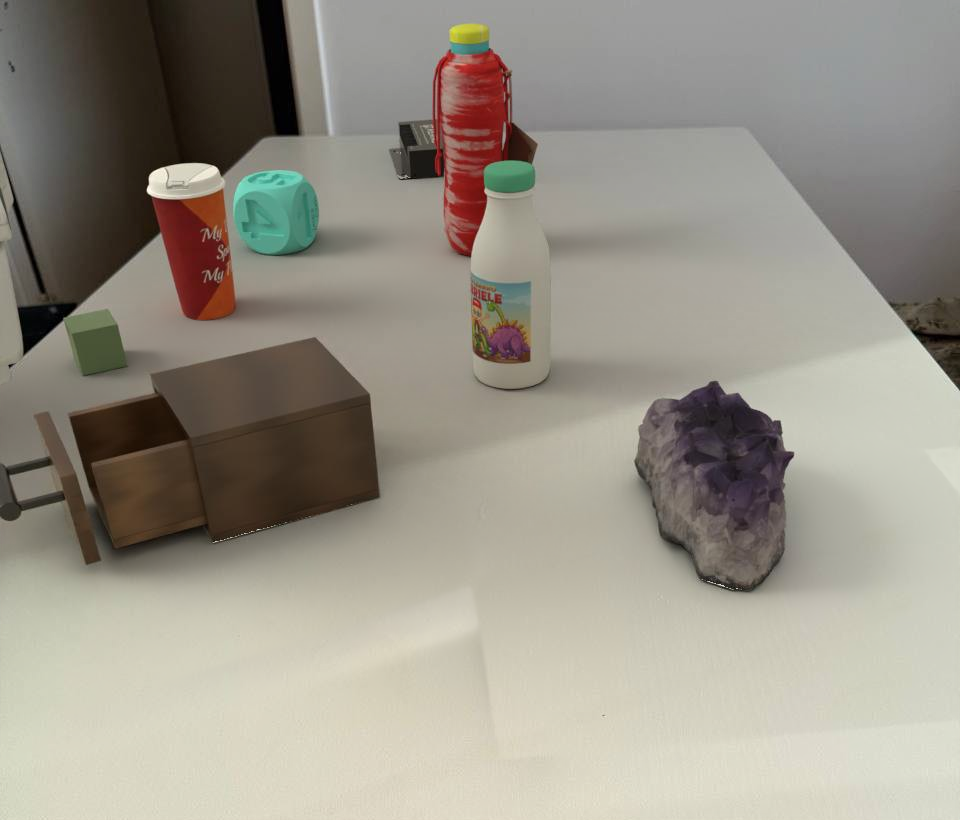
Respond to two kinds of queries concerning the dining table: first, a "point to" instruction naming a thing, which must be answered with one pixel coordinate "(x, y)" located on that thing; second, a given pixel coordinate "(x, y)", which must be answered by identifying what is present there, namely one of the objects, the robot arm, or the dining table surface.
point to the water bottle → (472, 129)
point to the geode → (717, 483)
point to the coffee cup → (195, 237)
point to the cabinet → (273, 435)
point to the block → (95, 342)
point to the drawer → (116, 474)
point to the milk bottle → (510, 283)
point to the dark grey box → (417, 150)
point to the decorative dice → (276, 212)
